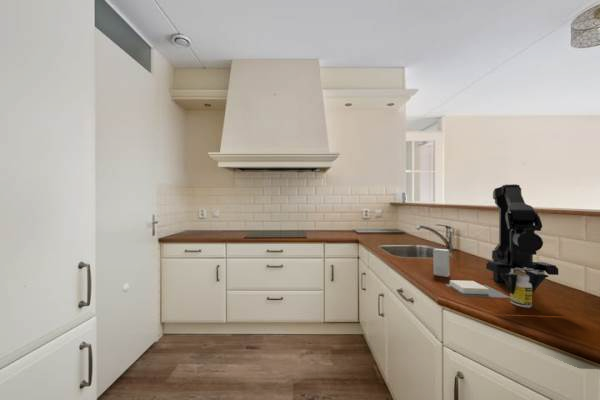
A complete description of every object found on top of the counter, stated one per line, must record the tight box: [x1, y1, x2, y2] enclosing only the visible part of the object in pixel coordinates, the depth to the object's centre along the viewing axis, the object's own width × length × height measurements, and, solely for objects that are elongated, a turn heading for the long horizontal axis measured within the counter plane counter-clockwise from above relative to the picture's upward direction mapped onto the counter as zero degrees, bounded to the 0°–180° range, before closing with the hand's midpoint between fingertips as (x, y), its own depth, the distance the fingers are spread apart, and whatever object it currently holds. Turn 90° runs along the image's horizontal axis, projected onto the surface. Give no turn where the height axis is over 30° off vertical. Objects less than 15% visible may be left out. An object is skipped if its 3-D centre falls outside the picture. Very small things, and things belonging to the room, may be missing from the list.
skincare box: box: [432, 248, 450, 278], centre depth 115 cm, size 6×4×12 cm
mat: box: [445, 283, 510, 299], centre depth 95 cm, size 16×13×1 cm
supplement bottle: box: [509, 272, 533, 308], centre depth 82 cm, size 5×5×10 cm
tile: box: [449, 279, 489, 295], centre depth 95 cm, size 2×9×9 cm
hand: (520, 293), depth 82 cm, fingers closed on supplement bottle, 5 cm apart
